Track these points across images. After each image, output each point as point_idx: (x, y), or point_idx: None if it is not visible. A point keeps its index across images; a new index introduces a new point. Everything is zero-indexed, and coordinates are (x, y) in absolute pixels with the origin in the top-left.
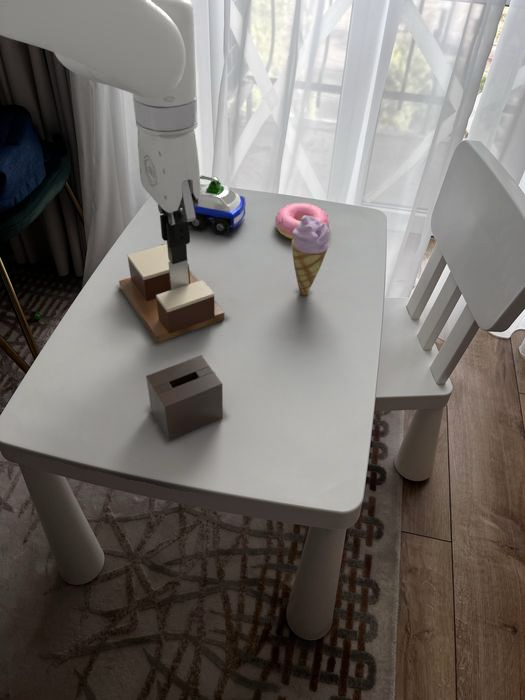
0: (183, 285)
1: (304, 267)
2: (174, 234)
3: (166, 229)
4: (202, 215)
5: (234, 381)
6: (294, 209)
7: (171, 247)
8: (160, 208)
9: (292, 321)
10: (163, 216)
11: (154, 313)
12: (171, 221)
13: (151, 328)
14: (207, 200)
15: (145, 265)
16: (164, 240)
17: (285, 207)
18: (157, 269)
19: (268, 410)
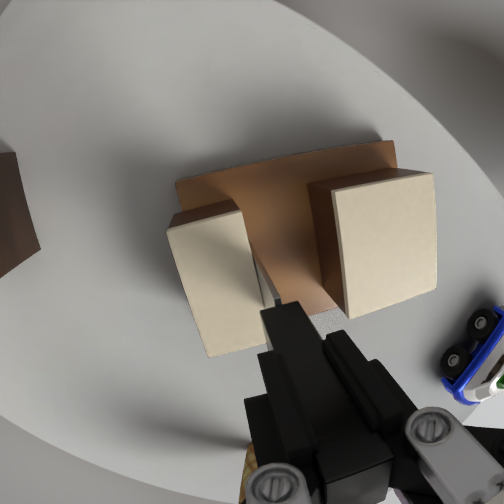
0: (261, 293)
1: (243, 494)
2: (267, 422)
3: (338, 386)
4: (484, 339)
5: (54, 305)
6: None
7: (258, 359)
8: (433, 435)
9: (187, 422)
10: (382, 428)
11: (257, 192)
12: (252, 500)
13: (205, 176)
14: (498, 360)
15: (381, 208)
16: (327, 335)
17: None
18: (355, 237)
19: (5, 332)
